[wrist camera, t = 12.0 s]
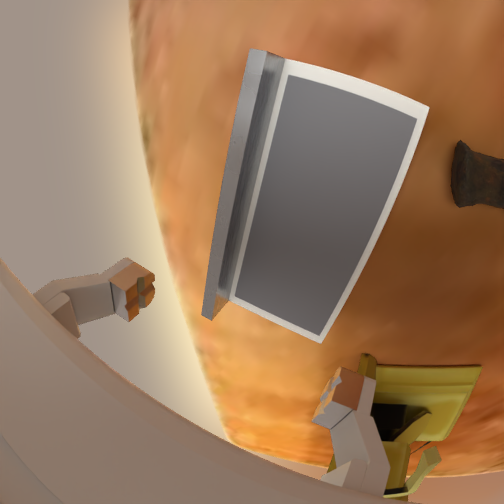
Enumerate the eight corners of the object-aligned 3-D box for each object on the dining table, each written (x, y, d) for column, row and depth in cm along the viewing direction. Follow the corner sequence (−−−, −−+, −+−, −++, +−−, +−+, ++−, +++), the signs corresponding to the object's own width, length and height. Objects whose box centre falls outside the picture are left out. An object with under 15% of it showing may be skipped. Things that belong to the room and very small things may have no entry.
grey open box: (421, 107, 16) (438, 107, 10) (330, 316, 27) (311, 369, 22) (289, 63, 18) (250, 48, 13) (238, 274, 30) (201, 315, 24)
